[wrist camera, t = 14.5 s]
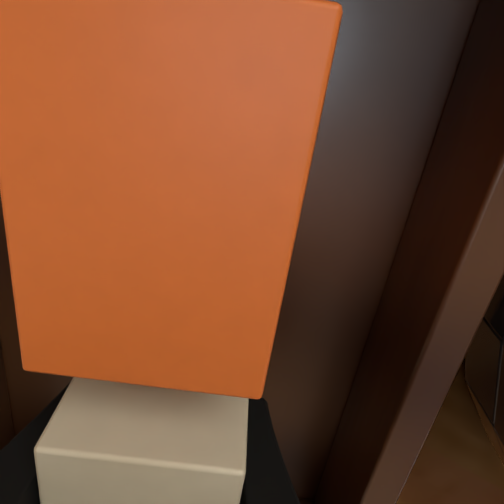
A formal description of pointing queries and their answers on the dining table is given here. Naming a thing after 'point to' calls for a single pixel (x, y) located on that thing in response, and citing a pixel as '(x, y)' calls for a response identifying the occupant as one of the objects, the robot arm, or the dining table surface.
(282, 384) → the holder
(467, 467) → the dining table surface
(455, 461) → the dining table surface
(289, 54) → the orange rectangular block
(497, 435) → the bowl
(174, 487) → the block
